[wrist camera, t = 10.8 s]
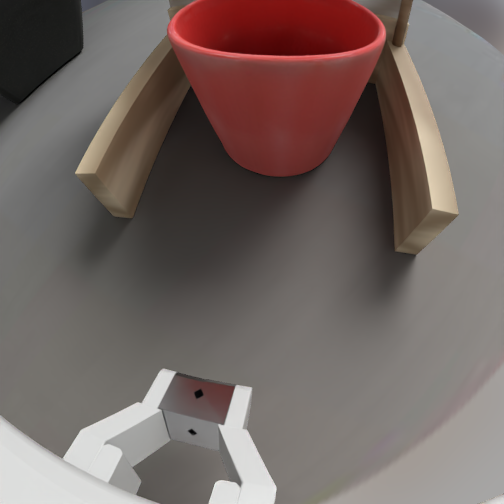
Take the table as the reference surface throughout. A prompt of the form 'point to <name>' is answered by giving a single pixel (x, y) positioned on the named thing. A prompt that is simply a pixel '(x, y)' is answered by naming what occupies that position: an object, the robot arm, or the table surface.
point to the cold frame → (383, 76)
